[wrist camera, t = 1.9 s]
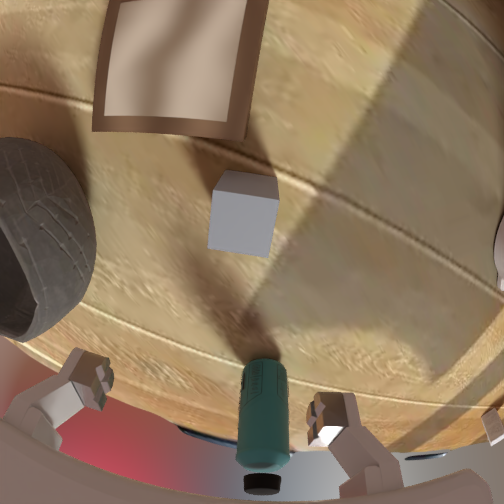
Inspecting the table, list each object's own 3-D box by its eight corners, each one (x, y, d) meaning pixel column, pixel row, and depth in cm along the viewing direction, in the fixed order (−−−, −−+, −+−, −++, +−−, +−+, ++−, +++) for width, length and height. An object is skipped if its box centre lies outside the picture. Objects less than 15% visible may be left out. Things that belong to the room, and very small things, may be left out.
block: (276, 177, 28) (279, 200, 22) (268, 223, 30) (268, 257, 24) (225, 169, 28) (213, 190, 21) (220, 216, 30) (207, 248, 24)
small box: (495, 412, 56) (505, 437, 46) (481, 422, 58) (491, 446, 48) (495, 406, 53) (506, 432, 44) (480, 416, 55) (490, 442, 46)
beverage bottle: (240, 349, 39) (225, 485, 22) (288, 348, 39) (292, 486, 21) (244, 377, 42) (234, 498, 25) (288, 376, 42) (291, 498, 24)
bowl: (6, 120, 24) (-81, 150, 11) (133, 134, 26) (34, 172, 13) (13, 255, 34) (-46, 311, 21) (120, 296, 36) (70, 382, 23)
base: (268, 2, 19) (268, -14, 15) (246, 136, 26) (242, 142, 22) (129, 3, 19) (110, -8, 15) (111, 126, 26) (90, 132, 22)
